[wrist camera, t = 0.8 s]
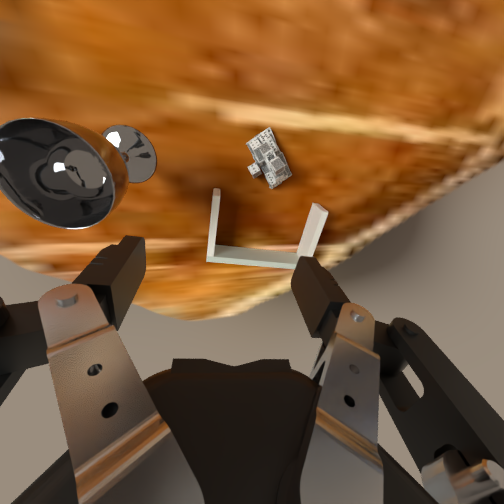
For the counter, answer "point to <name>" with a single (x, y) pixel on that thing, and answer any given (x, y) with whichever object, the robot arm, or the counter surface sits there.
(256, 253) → the box
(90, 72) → the counter surface
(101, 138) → the wine glass
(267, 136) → the house of cards
